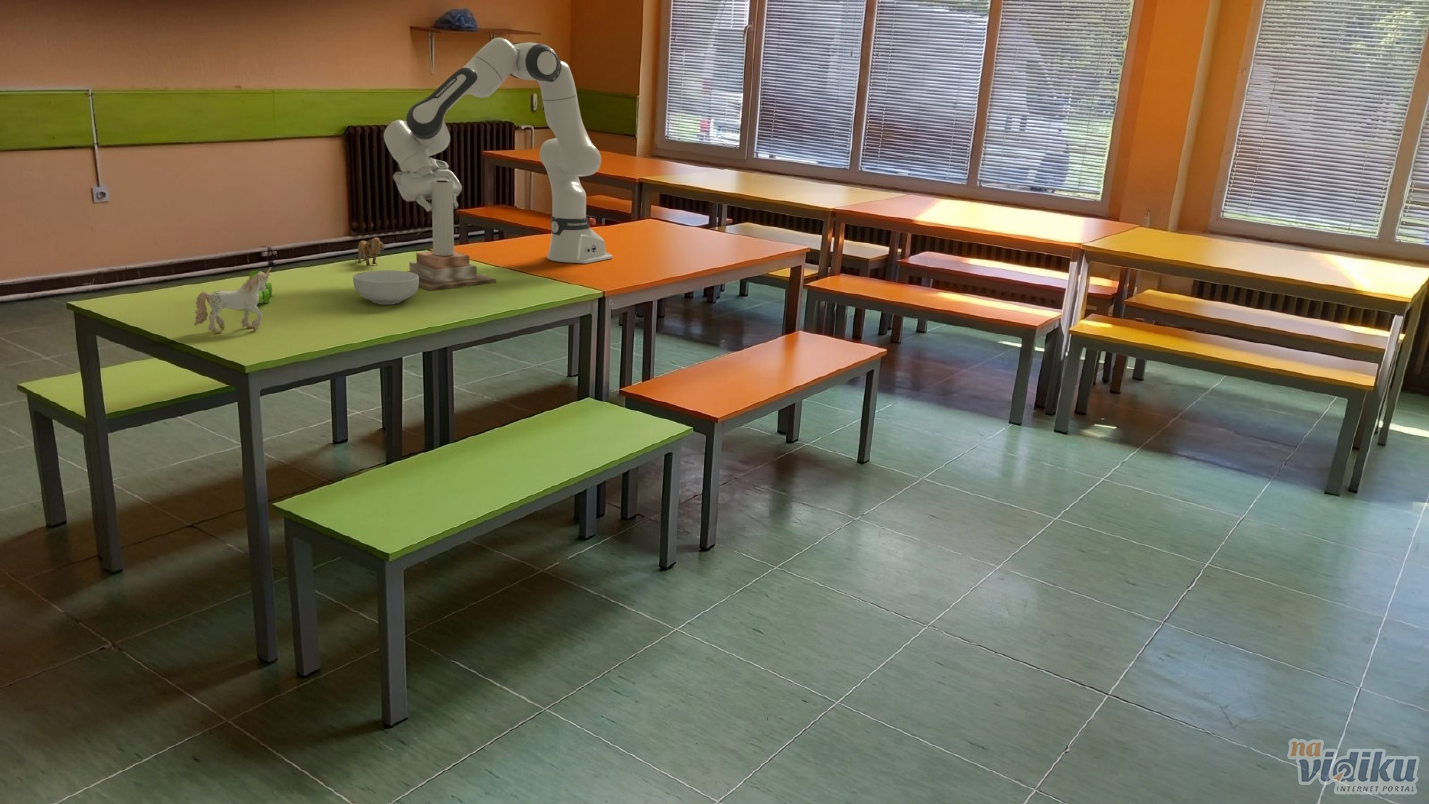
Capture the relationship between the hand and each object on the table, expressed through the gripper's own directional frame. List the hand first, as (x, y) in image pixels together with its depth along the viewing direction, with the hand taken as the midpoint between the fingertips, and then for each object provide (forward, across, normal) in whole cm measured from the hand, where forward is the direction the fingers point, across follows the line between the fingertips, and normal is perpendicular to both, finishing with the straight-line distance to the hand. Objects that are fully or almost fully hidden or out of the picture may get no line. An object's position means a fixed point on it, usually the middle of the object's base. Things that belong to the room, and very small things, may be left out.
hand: (443, 208), depth 305 cm
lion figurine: (-8, -2, +38) cm, 38 cm away
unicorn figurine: (+21, -72, +9) cm, 75 cm away
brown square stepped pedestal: (+14, 0, +15) cm, 21 cm away
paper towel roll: (+10, +1, +10) cm, 14 cm away
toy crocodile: (+6, -53, +24) cm, 58 cm away
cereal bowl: (+22, -29, +8) cm, 38 cm away
